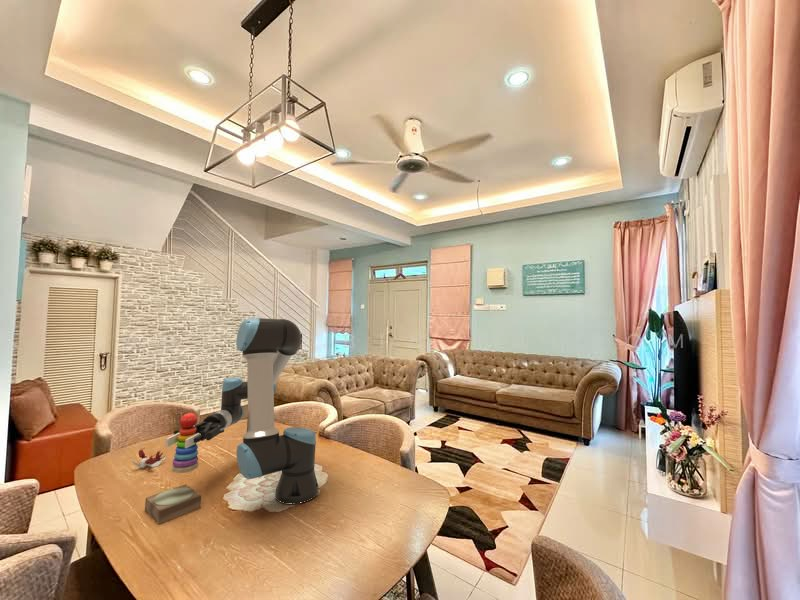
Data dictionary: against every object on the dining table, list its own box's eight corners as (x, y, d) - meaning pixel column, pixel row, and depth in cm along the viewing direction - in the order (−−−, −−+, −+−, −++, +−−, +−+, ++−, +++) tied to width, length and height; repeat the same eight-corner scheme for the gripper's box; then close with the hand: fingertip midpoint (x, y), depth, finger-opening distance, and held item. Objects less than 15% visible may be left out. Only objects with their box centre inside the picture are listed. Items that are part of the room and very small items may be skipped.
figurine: (173, 467, 143) (174, 451, 144) (140, 477, 134) (141, 459, 134) (158, 458, 152) (159, 442, 152) (126, 466, 142) (127, 450, 143)
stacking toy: (203, 465, 120) (208, 411, 121) (186, 475, 112) (191, 418, 113) (183, 463, 121) (187, 409, 122) (165, 472, 113) (170, 415, 114)
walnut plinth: (200, 507, 114) (201, 494, 114) (159, 524, 104) (160, 509, 105) (184, 495, 121) (185, 483, 121) (144, 510, 111) (145, 496, 112)
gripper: (239, 433, 135) (203, 456, 111) (193, 430, 135) (148, 453, 112) (240, 413, 135) (205, 433, 112) (194, 411, 136) (149, 430, 113)
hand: (176, 443), depth 112 cm, fingers closed on stacking toy, 6 cm apart
